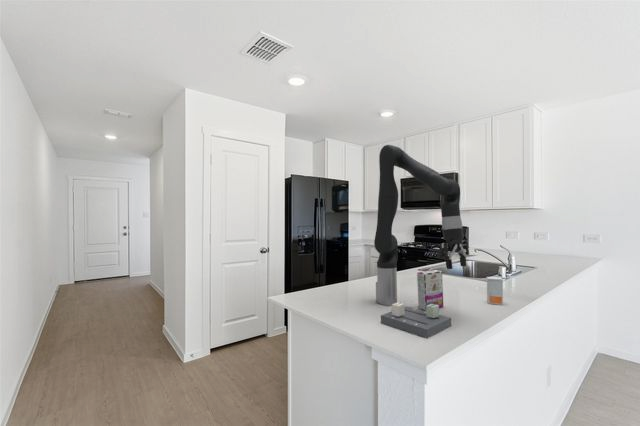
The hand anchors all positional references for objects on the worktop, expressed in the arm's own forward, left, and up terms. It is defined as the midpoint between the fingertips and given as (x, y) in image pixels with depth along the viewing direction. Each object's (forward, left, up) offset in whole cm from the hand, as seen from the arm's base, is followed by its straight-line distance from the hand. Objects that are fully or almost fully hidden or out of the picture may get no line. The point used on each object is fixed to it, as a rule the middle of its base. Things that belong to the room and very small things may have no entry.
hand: (456, 267), depth 122 cm
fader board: (-8, -18, -21) cm, 28 cm away
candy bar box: (-15, +5, -21) cm, 26 cm away
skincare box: (+2, +32, -21) cm, 38 cm away
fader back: (-3, -14, -17) cm, 22 cm away
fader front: (-13, -22, -17) cm, 31 cm away
